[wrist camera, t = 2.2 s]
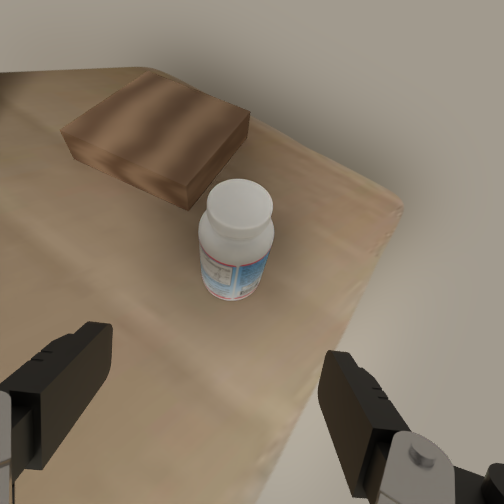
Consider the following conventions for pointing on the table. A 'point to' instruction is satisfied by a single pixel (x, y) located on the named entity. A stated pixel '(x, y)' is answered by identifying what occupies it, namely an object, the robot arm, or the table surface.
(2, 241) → the table surface
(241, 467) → the table surface
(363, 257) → the table surface
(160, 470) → the table surface
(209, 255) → the pill bottle
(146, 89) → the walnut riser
